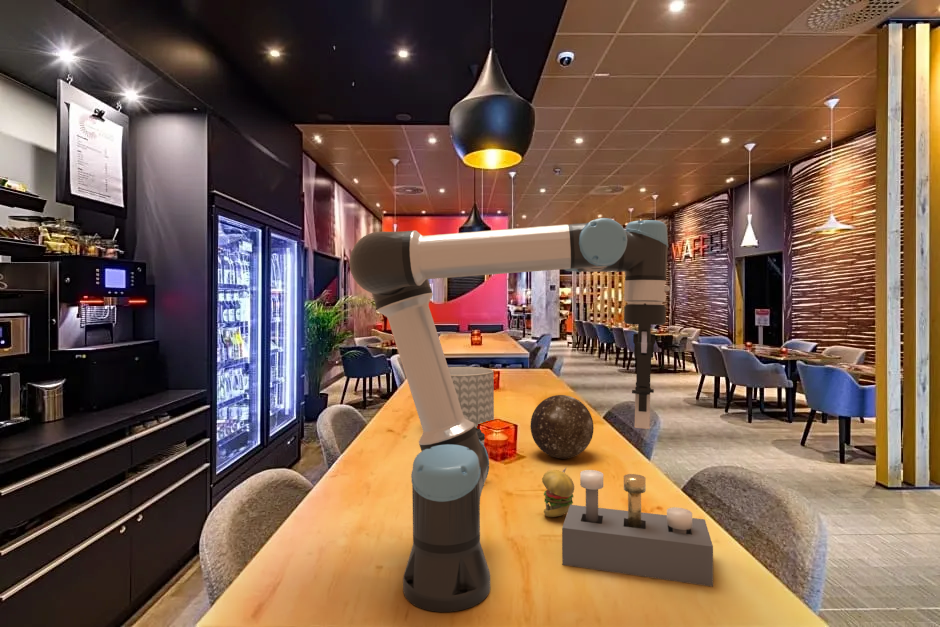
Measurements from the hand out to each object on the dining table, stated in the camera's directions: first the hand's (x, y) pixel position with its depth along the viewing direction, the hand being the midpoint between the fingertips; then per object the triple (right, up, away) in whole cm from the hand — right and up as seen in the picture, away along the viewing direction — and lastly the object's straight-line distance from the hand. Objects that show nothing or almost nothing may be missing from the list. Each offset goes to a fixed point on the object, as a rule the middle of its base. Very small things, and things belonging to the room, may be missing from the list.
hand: (642, 427), depth 99 cm
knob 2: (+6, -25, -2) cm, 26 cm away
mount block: (-1, -26, +1) cm, 26 cm away
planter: (-36, -25, +104) cm, 113 cm away
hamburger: (-12, -26, +21) cm, 36 cm away
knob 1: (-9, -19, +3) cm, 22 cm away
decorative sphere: (-3, -25, +69) cm, 73 cm away
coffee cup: (-33, -26, +45) cm, 61 cm away
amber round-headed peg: (-1, -19, +1) cm, 20 cm away
